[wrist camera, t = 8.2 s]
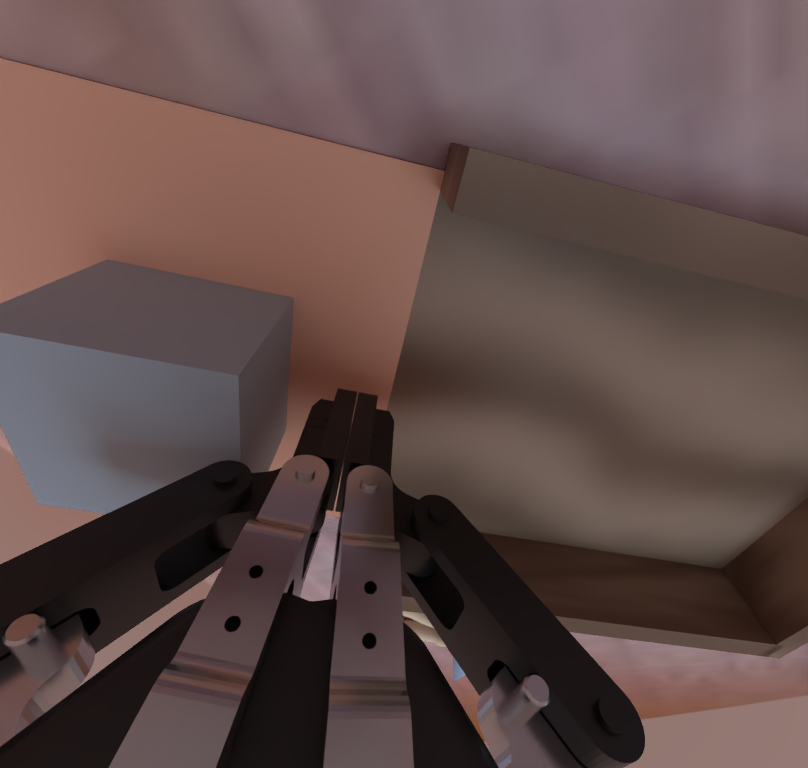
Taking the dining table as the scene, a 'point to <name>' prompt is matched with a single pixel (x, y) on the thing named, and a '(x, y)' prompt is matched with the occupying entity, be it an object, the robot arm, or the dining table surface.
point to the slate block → (139, 381)
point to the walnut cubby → (615, 403)
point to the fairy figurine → (429, 635)
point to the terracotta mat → (218, 219)
